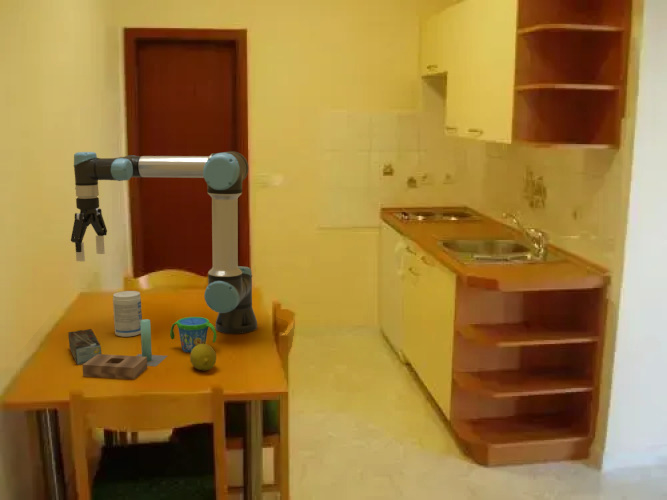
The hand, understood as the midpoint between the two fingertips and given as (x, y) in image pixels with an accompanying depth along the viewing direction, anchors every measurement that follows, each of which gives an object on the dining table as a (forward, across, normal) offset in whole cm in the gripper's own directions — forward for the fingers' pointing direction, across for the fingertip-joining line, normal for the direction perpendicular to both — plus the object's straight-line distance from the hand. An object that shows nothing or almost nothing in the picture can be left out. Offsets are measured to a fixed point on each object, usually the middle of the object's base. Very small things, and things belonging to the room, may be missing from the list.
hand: (90, 257), depth 261 cm
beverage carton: (+28, +23, +10) cm, 38 cm away
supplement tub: (+28, -2, +12) cm, 30 cm away
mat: (+28, +24, +32) cm, 48 cm away
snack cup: (+28, +11, +42) cm, 51 cm away
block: (+28, +36, +27) cm, 53 cm away
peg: (+27, +24, +32) cm, 48 cm away
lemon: (+28, +27, +52) cm, 65 cm away
